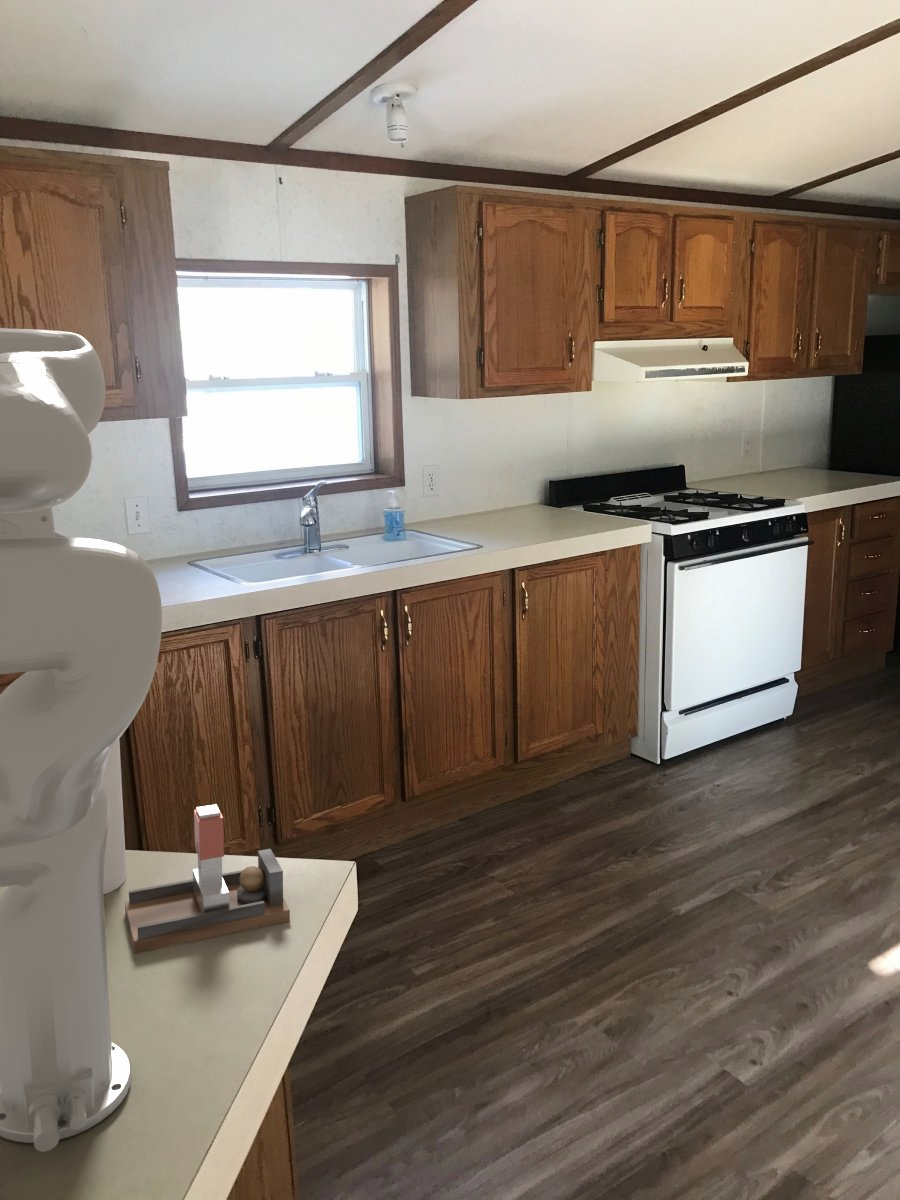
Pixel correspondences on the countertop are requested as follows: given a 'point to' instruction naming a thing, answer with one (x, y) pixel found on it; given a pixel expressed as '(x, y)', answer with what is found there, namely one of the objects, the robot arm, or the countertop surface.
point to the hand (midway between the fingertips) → (7, 631)
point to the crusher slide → (209, 860)
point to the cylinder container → (114, 824)
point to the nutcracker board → (179, 920)
